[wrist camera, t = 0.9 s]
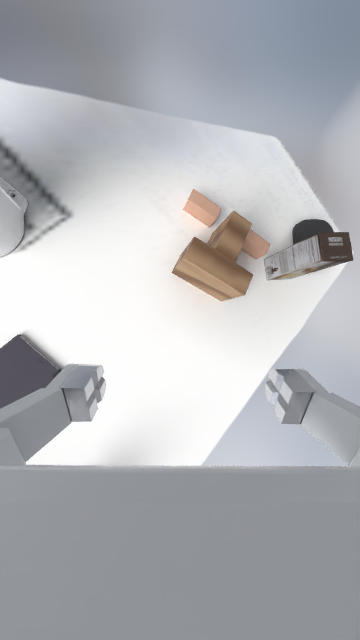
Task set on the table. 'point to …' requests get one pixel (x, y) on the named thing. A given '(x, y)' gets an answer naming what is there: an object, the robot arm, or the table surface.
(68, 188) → the table surface
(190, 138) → the table surface
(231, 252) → the t block
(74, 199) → the table surface
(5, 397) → the notebook
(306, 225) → the media streaming box
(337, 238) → the coffee box
